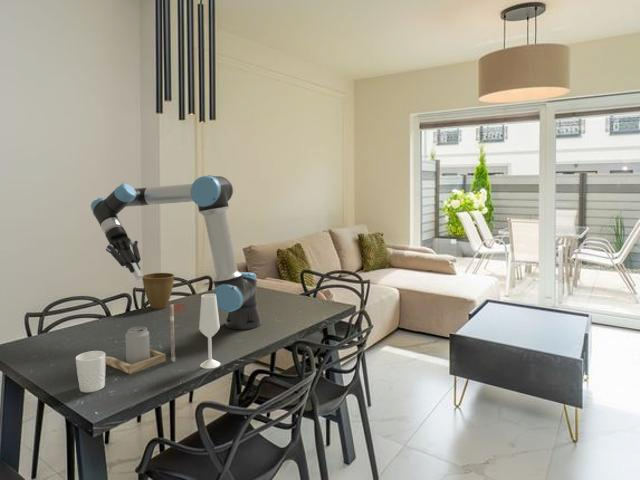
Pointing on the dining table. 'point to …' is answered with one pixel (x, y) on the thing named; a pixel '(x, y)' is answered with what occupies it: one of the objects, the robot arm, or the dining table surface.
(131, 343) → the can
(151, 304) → the plant pot
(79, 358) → the white cup
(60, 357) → the dining table surface
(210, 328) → the champagne flute
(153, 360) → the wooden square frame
